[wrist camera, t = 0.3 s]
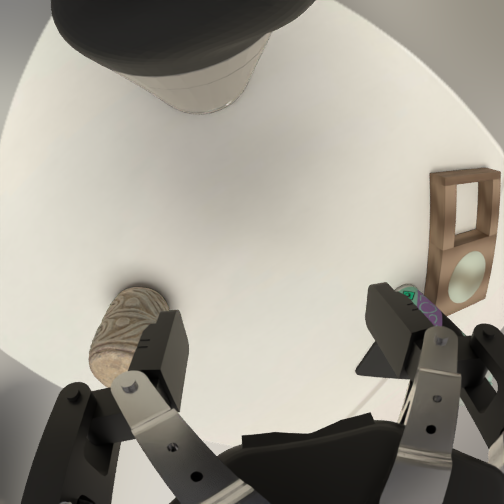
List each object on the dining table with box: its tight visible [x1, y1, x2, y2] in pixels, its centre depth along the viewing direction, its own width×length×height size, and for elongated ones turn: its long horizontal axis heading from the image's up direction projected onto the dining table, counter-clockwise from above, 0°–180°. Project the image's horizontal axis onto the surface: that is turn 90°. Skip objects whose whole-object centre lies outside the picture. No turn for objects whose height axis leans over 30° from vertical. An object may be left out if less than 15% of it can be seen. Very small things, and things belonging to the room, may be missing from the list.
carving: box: [89, 287, 169, 388], centre depth 26 cm, size 6×8×12 cm
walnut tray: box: [424, 168, 501, 316], centre depth 32 cm, size 20×12×3 cm, turn 11°
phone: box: [355, 341, 410, 379], centre depth 40 cm, size 7×1×15 cm
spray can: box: [394, 284, 493, 406], centre depth 26 cm, size 6×6×20 cm
